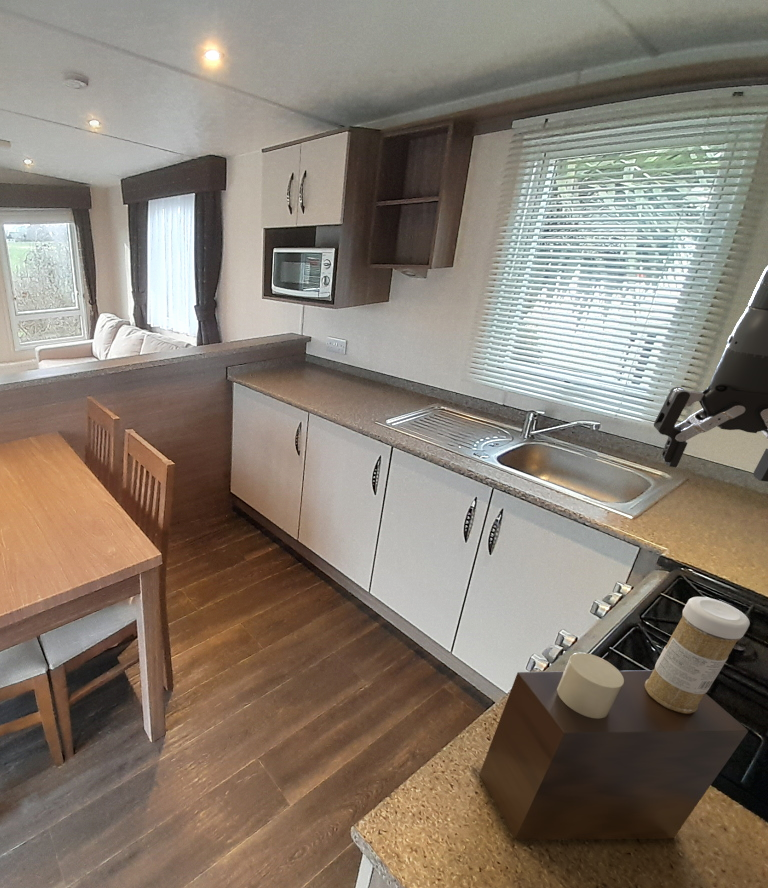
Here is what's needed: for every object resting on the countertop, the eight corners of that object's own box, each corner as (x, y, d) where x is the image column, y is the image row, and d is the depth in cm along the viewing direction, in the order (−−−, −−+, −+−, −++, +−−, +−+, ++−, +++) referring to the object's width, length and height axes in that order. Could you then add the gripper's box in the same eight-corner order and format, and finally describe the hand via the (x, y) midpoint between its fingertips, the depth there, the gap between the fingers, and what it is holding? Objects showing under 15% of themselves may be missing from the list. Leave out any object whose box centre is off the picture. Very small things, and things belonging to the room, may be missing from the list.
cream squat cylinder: (608, 697, 56) (623, 666, 54) (608, 727, 53) (624, 695, 51) (558, 675, 59) (570, 645, 57) (555, 702, 56) (568, 672, 54)
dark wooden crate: (619, 775, 68) (678, 669, 59) (672, 840, 61) (749, 731, 52) (478, 776, 68) (517, 671, 60) (513, 842, 61) (564, 733, 52)
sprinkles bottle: (668, 680, 58) (717, 593, 53) (708, 714, 54) (765, 624, 48) (632, 682, 58) (677, 595, 52) (669, 716, 54) (722, 626, 48)
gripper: (702, 349, 56) (650, 472, 63) (891, 362, 49) (810, 497, 56) (680, 337, 62) (634, 450, 69) (846, 347, 55) (778, 471, 62)
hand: (713, 471), depth 62 cm, fingers open, 8 cm apart
